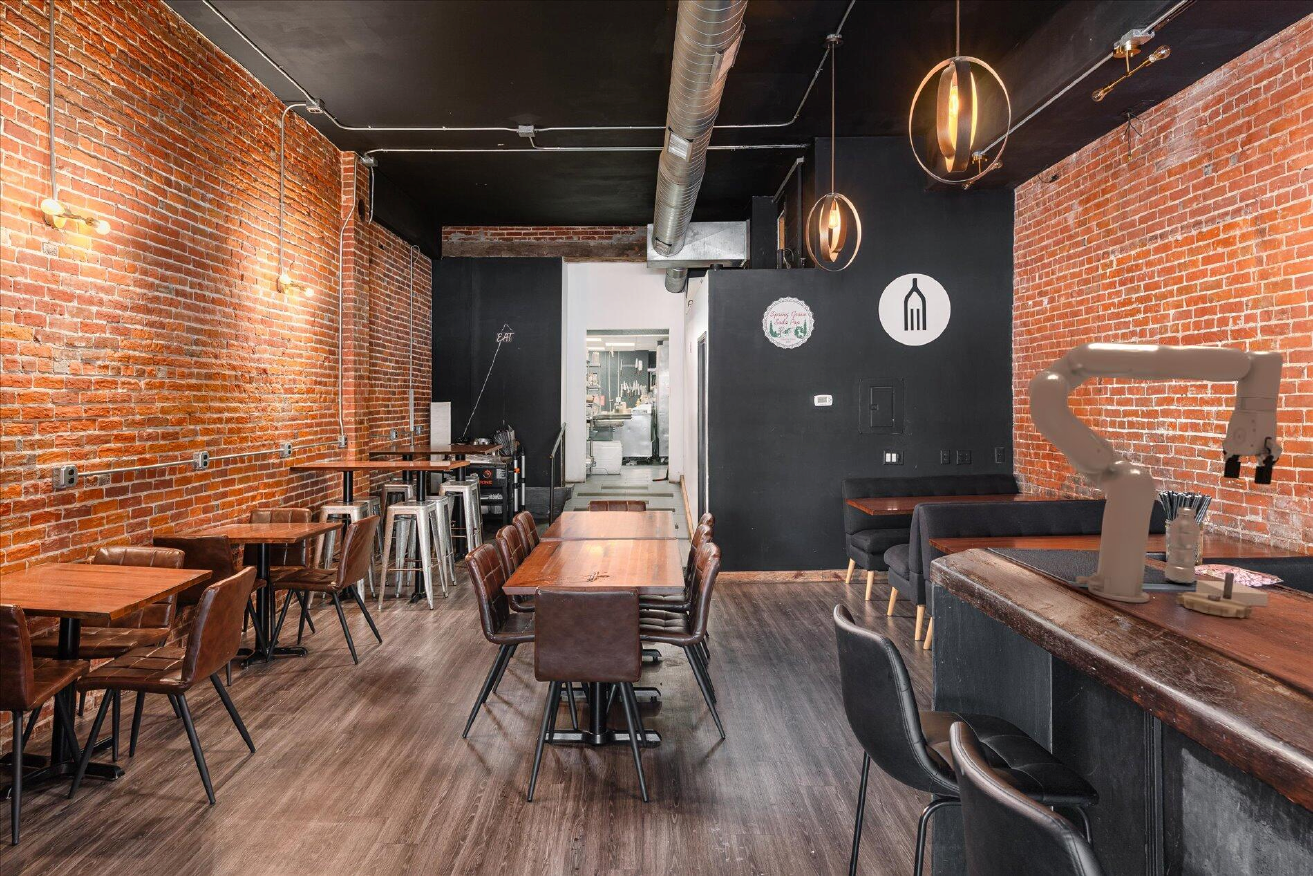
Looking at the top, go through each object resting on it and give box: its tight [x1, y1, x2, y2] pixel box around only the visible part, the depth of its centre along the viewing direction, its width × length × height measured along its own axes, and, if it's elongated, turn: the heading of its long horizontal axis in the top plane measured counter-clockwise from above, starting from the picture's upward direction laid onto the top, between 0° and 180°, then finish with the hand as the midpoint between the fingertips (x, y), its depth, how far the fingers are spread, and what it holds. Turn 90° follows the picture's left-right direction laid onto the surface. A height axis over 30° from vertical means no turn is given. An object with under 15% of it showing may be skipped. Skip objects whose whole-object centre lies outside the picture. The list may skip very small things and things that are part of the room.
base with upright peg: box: [1175, 571, 1253, 619], centre depth 174 cm, size 14×14×8 cm
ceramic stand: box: [1195, 579, 1270, 607], centre depth 185 cm, size 10×10×3 cm
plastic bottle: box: [1164, 506, 1201, 583], centre depth 197 cm, size 6×7×20 cm
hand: (1246, 481), depth 172 cm, fingers open, 9 cm apart
